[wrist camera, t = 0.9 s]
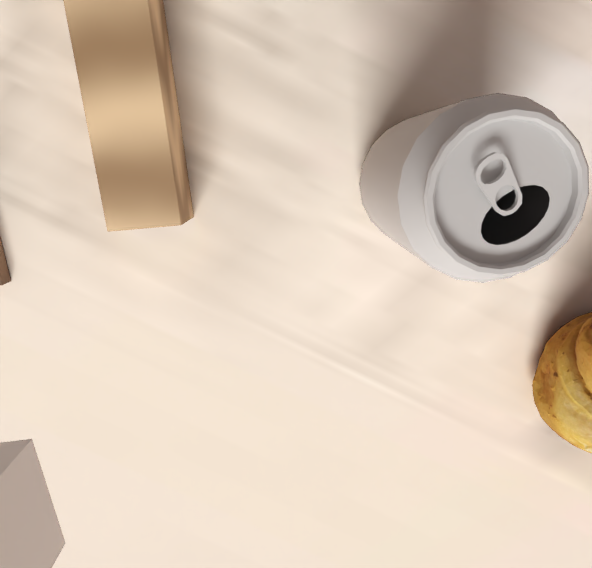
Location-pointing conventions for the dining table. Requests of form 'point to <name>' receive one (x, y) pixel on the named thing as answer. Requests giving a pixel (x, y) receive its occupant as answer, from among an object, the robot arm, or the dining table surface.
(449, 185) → the can
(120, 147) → the slat
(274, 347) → the dining table surface
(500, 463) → the dining table surface
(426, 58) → the dining table surface
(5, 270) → the cradle
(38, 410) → the dining table surface
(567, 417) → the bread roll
